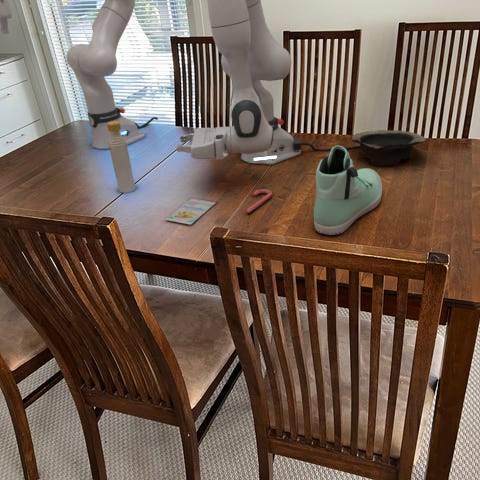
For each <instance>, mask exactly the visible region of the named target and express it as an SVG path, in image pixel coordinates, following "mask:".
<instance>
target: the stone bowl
mask: <svg viewBox="0 0 480 480" xmlns="http://www.w3.org/2000/svg"><path fill="white" fill-rule="evenodd" d="M425 141H427V138H426V137H425V136H423V135H420V134H419V133H415V132H411V131H406V130H405V131H404V130H393V129H392V130H390V129H389V130H386V129H385V130H384V129H378V130H368V131H362V132H359V133H355V134H353V135H352V136H351V142H353V143H355V144H358V145H359V146H360V148H359V149H360V151H361V153H362V154H363V156H364V157H366V158H367V159H369V160H370V164H371V165H373V166H377V165H378V166H389V165H397V164H399V163H401V160H410V159H411V158H412V155H413V150H414V149H413V148H414V146H416V145H419V144H422V143H424V142H425Z"/></svg>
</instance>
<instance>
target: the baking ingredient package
mask: <svg viewBox="0 0 480 480" xmlns="http://www.w3.org/2000/svg"><path fill="white" fill-rule="evenodd" d="M215 204H216V202H214V201H209V200H201V199H198V198H197V199H196V198H190V199H189V200H187V201H186V202H185V203H184V204H183V205H181V206H180V207H179V208H177V209H176V210H175V211H173V213H172V214H170V215H169V216H168V217H166V218H165V219H164V220H165V221H168V222H169V221H170V222H176V223H179V224H186V225H189V226H190V225H191V226H192V224H193V223H195V222H196V221H198V219H199V218H200V217H201V216H203V215H204V214H205V213H206V212H207V211H209V210H210V208H212V207H213V206H214V205H215Z"/></svg>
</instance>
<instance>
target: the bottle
mask: <svg viewBox="0 0 480 480" xmlns="http://www.w3.org/2000/svg"><path fill="white" fill-rule="evenodd" d="M109 152H110V153H109V154H110V157H111V162H112V166H113V171H114V174H115V175H114V176H115V179H116V184H117V188H118V189H117V190H118V192H119V193H122V194H128V193H132V192H134V191H135V190H136V183H135V179H134V172H133V168H132V165H131V158H130V153H129V149H128V145H127V143H126V141H125V139H124V137H123V136H122V135H121V133H119V131H116V132H111V136H110V139H109Z"/></svg>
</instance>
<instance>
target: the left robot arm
mask: <svg viewBox="0 0 480 480" xmlns="http://www.w3.org/2000/svg"><path fill="white" fill-rule="evenodd" d="M135 6H136V0H104V2H103V4H102V6H101V7H100V9H99V11H98V13H97V15H96V17H95V19H94V21H93V22H92V24H91V31H92V36H91V39H90V42H89V43H88V44H85V43H79V44H75V45H72V46H71V47H69V48H68V50H67V52H66V56H65V57H66V58H65V59H66V62H67V64H68V67H70V68H71V70H72V71H73V73H74V75H75V78H76V80H77V81H78V83H79V86H80V88H81V90H82V93H83V96H84V100H85V104H86V109H87V118H88V122H89V125H90V127H91V128H90V129H91V137H92V138H91V140H92V141H91V147H92V148H94V149H98V150H107V149H109V150H110V148H109V139H110V136H111V132H110V131H108V126H107V123H108V122H111V121H119V123H120V127H121V129H120V130H119V133H121V135H122V136H123V137H124V139H125V141H126V143H127V146H128V145H131V144H132V143H135V142H137V141H139V140H141V139H143V138H145V137H146V135H145V133H144V132H142V131H140V130H139V129H142V128H145V127H146V126H148V125H149V124H151V122H152V121H154V120H156V121H158V120H159V117H156V116H153V117H152V118H150V119H149V120H148V121H146V123H143V124H142V125H138V123H137V122H135V121H134V120H131V119H129V118H127V117H125V116H123V115H122V114H125V112H126V109H125V108H124V107H123V108H122V107H117V106H116V103H115V97H114V94H113V89H112V87H111V85H110V84H109V83H108V82H107V79H106V77H109V76H112V75H114V73H115V72H116V70H117V68H118V60H117V57H116V54H117V49H118V46H119V43H120V40H121V39H122V36H123V35H124V33H125V30H126V29H127V27H128V24H129V22H130V20H131V18H132V15H133V12H134V9H135ZM12 15H13V14H12V10H11V8H10V5H9V1H8V0H0V31H1V34H3V35H7V34H9V33H10V30H9V25H8V24H9V21H8V19H12Z"/></svg>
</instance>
